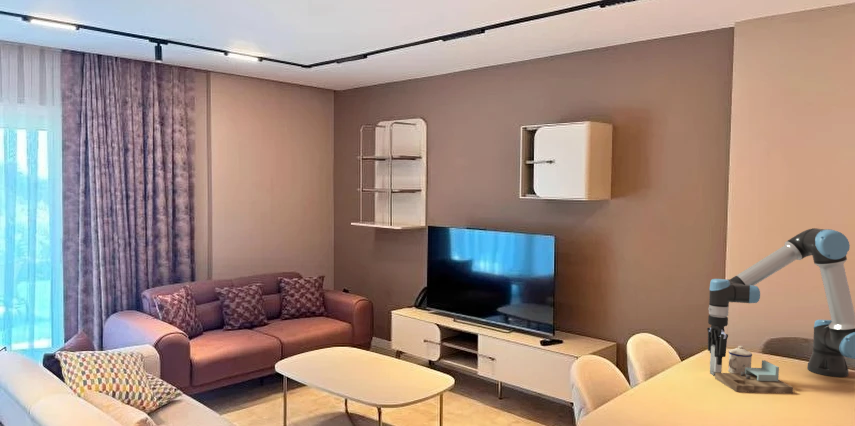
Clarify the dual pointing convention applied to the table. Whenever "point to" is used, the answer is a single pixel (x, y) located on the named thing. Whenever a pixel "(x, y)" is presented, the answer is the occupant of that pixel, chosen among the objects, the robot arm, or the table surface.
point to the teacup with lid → (739, 360)
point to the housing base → (752, 383)
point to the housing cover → (765, 372)
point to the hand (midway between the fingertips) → (715, 370)
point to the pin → (713, 360)
